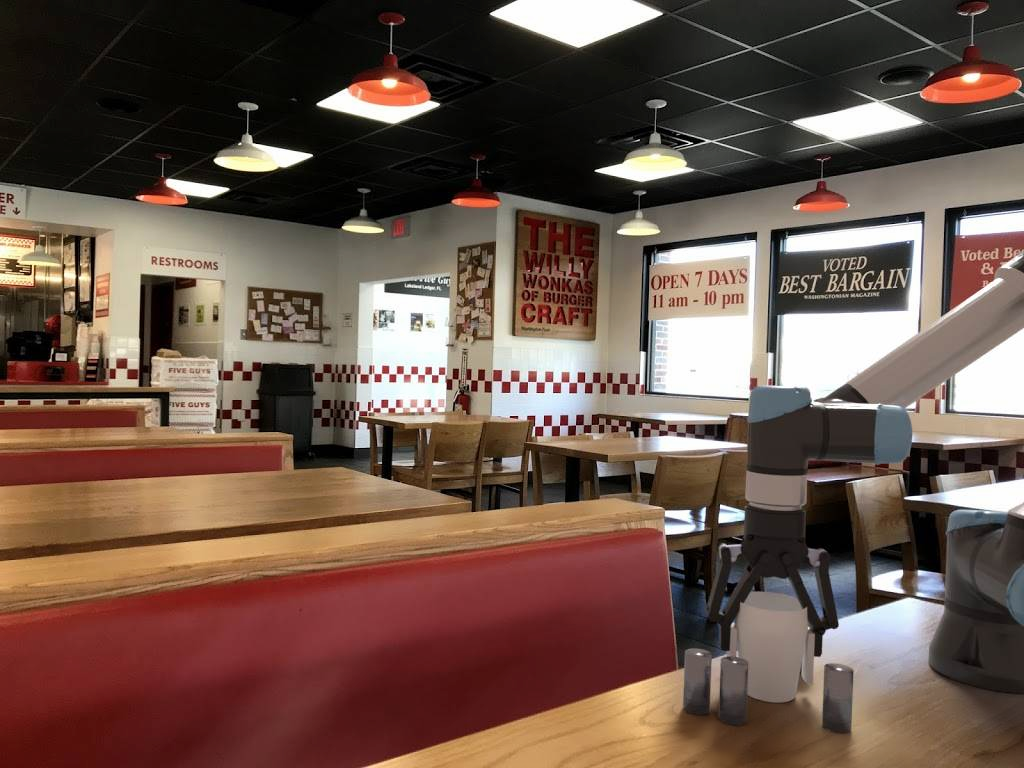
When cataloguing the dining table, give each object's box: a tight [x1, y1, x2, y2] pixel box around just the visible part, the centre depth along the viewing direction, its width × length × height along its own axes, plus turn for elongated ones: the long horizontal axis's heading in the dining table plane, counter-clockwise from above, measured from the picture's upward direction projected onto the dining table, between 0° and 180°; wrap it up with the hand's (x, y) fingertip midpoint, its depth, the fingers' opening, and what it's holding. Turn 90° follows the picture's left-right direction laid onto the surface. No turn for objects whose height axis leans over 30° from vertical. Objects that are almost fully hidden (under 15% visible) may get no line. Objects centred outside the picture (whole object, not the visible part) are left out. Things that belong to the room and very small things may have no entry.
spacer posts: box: [682, 619, 854, 734], centre depth 104 cm, size 19×21×7 cm
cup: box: [734, 591, 808, 704], centre depth 103 cm, size 9×9×12 cm
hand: (768, 677), depth 104 cm, fingers closed on cup, 9 cm apart
